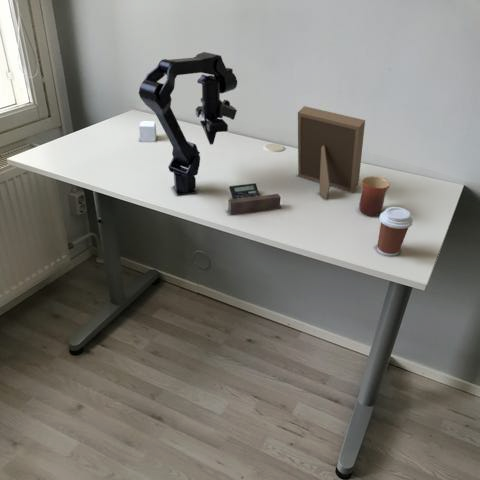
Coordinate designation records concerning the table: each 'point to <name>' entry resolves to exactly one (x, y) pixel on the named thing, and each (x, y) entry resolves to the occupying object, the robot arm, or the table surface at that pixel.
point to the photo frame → (329, 149)
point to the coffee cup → (393, 230)
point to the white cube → (147, 131)
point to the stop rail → (254, 204)
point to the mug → (373, 195)
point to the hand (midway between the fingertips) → (211, 144)
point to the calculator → (244, 191)
